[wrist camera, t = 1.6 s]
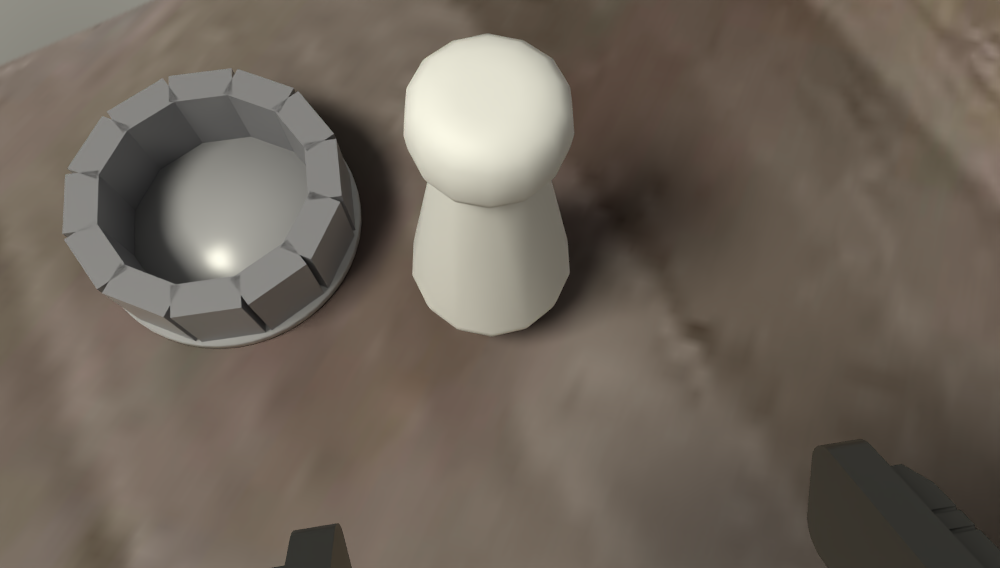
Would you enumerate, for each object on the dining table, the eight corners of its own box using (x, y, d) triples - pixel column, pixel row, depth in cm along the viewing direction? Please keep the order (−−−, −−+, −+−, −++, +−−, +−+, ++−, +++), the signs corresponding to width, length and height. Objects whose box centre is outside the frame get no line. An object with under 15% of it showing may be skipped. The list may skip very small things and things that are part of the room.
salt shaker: (458, 194, 31) (435, -41, 19) (585, 247, 31) (646, 38, 18) (393, 315, 30) (321, 141, 17) (526, 376, 29) (551, 238, 17)
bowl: (350, 101, 33) (334, 50, 30) (373, 327, 29) (358, 297, 26) (106, 132, 32) (63, 83, 29) (100, 367, 29) (49, 341, 25)
